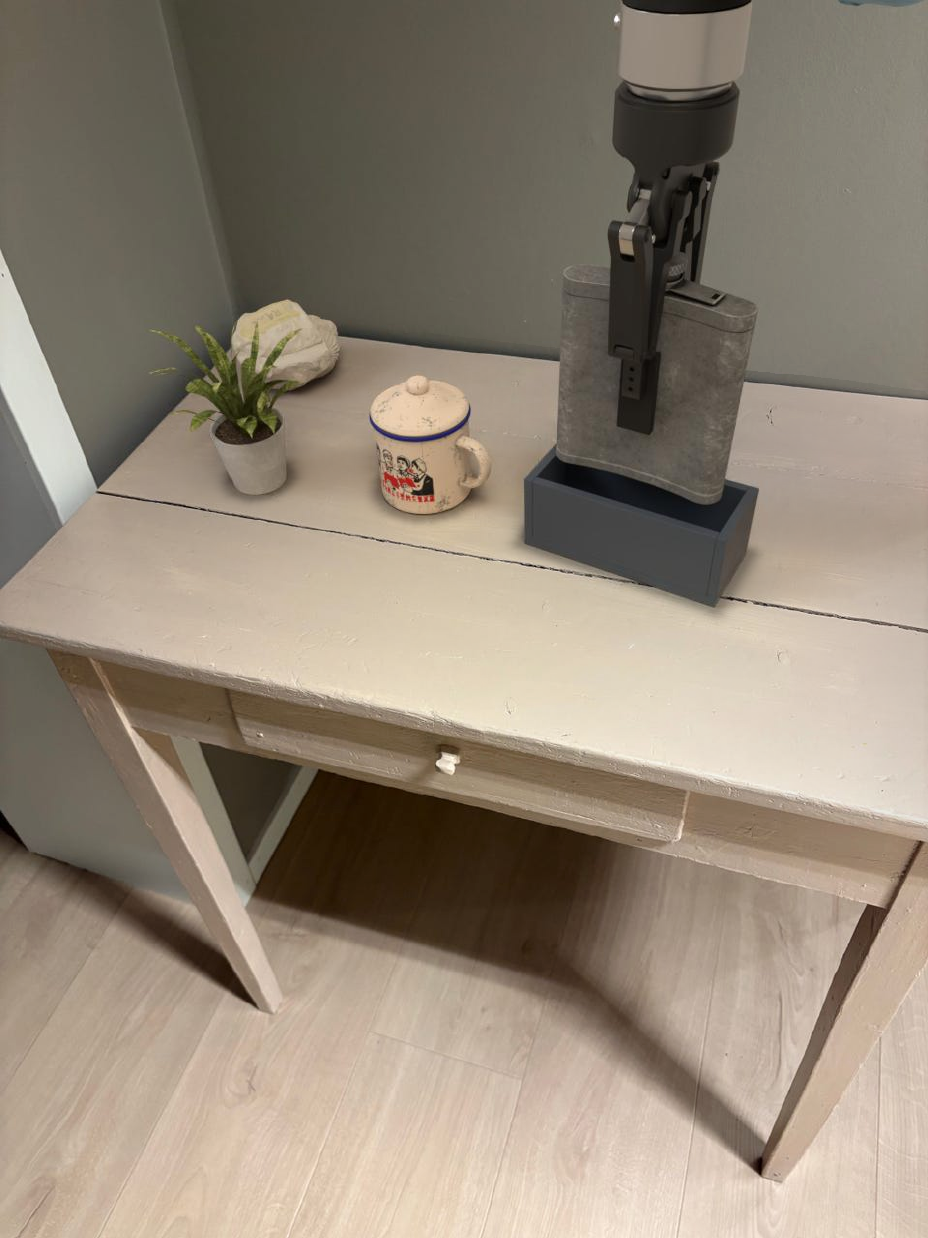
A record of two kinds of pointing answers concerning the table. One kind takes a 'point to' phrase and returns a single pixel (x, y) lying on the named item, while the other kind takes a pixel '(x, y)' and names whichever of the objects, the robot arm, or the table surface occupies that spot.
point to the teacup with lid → (425, 446)
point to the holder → (638, 527)
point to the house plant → (242, 414)
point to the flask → (687, 386)
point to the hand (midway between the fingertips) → (645, 414)
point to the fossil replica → (301, 354)
